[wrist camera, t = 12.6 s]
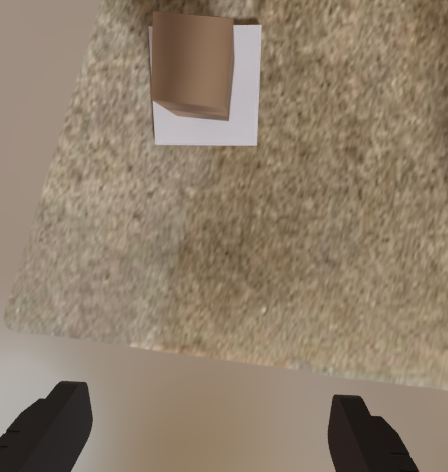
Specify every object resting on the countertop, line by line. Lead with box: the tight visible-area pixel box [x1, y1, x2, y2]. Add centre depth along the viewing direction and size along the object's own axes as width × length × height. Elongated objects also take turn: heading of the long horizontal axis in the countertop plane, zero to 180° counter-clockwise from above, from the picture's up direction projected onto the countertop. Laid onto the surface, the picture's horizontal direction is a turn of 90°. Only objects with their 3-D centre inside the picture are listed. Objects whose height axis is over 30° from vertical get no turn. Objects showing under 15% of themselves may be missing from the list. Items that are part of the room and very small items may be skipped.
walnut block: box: [151, 11, 235, 121], centre depth 26 cm, size 6×6×10 cm
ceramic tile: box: [148, 25, 262, 146], centre depth 31 cm, size 12×12×1 cm
